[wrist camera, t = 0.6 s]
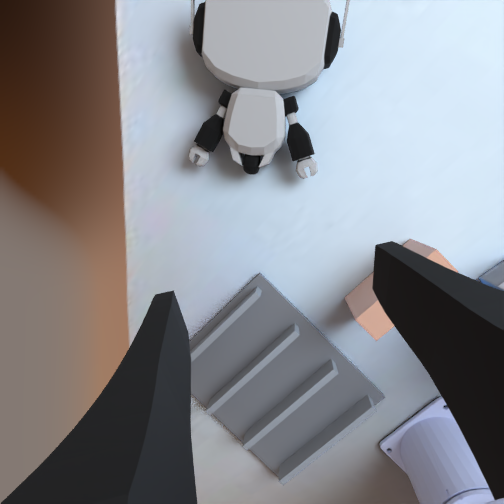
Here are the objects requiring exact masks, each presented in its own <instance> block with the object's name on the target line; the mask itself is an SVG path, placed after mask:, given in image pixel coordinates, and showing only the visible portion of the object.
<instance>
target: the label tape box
mask: <svg viewBox="0 0 504 504" xmlns="http://www.w3.org/2000/svg"><path fill="white" fill-rule="evenodd" d="M479 279H480V281H481V282H482V283H483V284H485V285H488V286H491V287H493V288H496V289H499V290H502V291H504V260H503V261H502V262H500V263H499V264H497V265H496V266H494V267H493V268H492V269H490V270H489V271H487V272H486V273H484V274H483V275H482V276H480V277H479Z"/></svg>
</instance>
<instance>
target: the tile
mask: <svg viewBox="0 0 504 504" xmlns="http://www.w3.org/2000/svg"><path fill="white" fill-rule="evenodd" d="M403 247H406V248H408V249H410V250H412V251H414V252H416V253H418V254H420V255H422V256H424V257H426V258H428V259H430V260H432V261H434V262H436V263H438V264H440V265H442V266H444V267H446V268H448V269H451V270H453V271H455V272H457V273H458V271H457V270H456V269H455V268H454V267H453V266H452V265H451V264H450V263H449V262H448V261H447V260H446V259H445V258H444V256H443V255H442V254H441V253H440V252H439V251H438V250H437V249H435V248H432V247H430V246H427V245H425V244H422V243H420V242H417V241H415V240H412V239H409V240H408V241H407V242H406V243H405V244H404V245H403ZM373 273H374V272H372V273H371V274H370V275H369V276H368V277H367V278H366V279H365V280H364V281H362V282H361V283H360V284H359V285H358V286H357V287H356V288H355V289H353V290H352V291H351V292H350V293H349V294H348V295H347V296H346V297H345V300H346V302H347V304H348V306H349V308H350V310H351V312H352V314H353V316H354V318H355V320H356V321H357V322H358V323H359V324H360V325H361V326H362V327H363V328H364V329H365V330H366V331H367V332H368V333H369V334H370V335H371V336H372V337H373V338H374V339H375V340H376V341H377V340H378V339H379V338H381V337H382V336H383V335H384V334H385V333H387V332H388V331H389V330H390V329H391V328H393V327H394V324H393V323H392V322H391V320H390V319H389V318H388V316H387V315H386V313H385V312H384V310H383V308H382V306H381V305H380V303H379V301H378V299H377V297H376V295H375V293H374V291H373V289H372V286H373Z"/></svg>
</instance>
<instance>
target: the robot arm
mask: <svg viewBox="0 0 504 504" xmlns="http://www.w3.org/2000/svg"><path fill="white" fill-rule="evenodd" d="M372 289H373V291H374V293H375V295H376V297H377V299H378V301H379V303H380V305H381V306H382V308H383V310H384V312H385V313H386V315H387V316H388V318H389V319H390V320H391V322H392V323H393V324H394V326H395V327H396V329H397V330H398V331H399V333H400V334H401V336H402V337H403V338H404V340H405V341H406V342H407V344H408V345H409V346H410V348H411V349H412V350H413V352H414V353H415V355H416V356H417V357H418V359H419V360H420V361H421V363H422V364H423V366H424V367H425V369H426V370H427V372H428V373H429V375H430V377H431V378H432V380H433V382H434V383H435V385H436V387H437V389H438V390H439V392H440V394H441V395H442V397H439V398H437V399H436V400H434V401H433V402H432V403H430V404H429V405H428V406H426V407H425V408H424V409H423V410H421V411H420V412H419V413H417V414H416V415H415V416H413V417H412V418H411V419H410V420H408V421H407V422H406V423H404V424H403V425H402V426H400V427H399V428H398V429H396V430H395V431H394V432H393V433H391V434H390V435H389V436H387V437H386V438H385V439H383V440H382V441H381V442H380V447H381V449H382V450H383V451H384V452H385V453H386V454H387V455H388V456H389V457H390V458H391V459H392V460H393V461H394V462H395V463H396V464H397V465H398V466H399V467H400V468H401V469H402V470H403V471H404V472H405V473H406V474H407V475H408V476H409V479H410V481H411V484H412V486H413V488H414V491H415V493H416V496H417V498H418V501H419V503H420V504H504V291H502V290H499V289H496V288H493V287H491V286H488V285H485V284H483V283H480V282H478V281H476V280H473V279H471V278H469V277H466V276H464V275H462V274H459V273H457V272H455V271H453V270H451V269H448V268H446V267H444V266H442V265H440V264H438V263H436V262H434V261H432V260H430V259H428V258H426V257H424V256H422V255H420V254H418V253H416V252H414V251H412V250H410V249H408V248H406V247H403V246H401V245H399V244H397V243H395V242H392V241H391V242H387V243H382V244H378V245H376V247H375V260H374V273H373V286H372ZM444 405H447V407H443V406H444ZM190 414H191V354H190V344H189V336H188V330H187V328H186V325H185V322H184V319H183V316H182V313H181V310H180V308H179V305H178V302H177V299H176V296H175V293H174V291H170V292H165V293H161V294H156V295H155V296H154V298H153V300H152V302H151V305H150V307H149V309H148V312H147V314H146V316H145V318H144V320H143V323H142V325H141V327H140V329H139V331H138V333H137V335H136V337H135V339H134V340H133V342H132V344H131V346H130V348H129V350H128V351H127V353H126V355H125V357H124V358H123V360H122V362H121V364H120V365H119V367H118V369H117V370H116V372H115V373H114V375H113V377H112V378H111V380H110V381H109V383H108V384H107V385H106V387H105V388H104V390H103V391H102V393H101V394H100V396H99V397H98V398H97V400H96V401H95V402H94V404H93V405H92V406H91V407H90V409H89V410H88V411H87V413H86V414H85V415H84V416H83V418H82V419H81V420H80V421H79V423H78V424H77V425H76V426H75V428H74V429H73V430H72V431H71V432H70V433H69V435H67V437H66V438H65V439H64V440H63V441H62V442H61V443H60V445H59V446H58V447H57V448H56V449H55V450H54V451H53V452H52V453H51V454H50V455H49V457H47V459H46V460H45V461H44V462H43V463H42V464H41V465H40V466H39V467H38V468H37V469H36V470H35V471H34V472H33V473H32V474H31V475H29V476H28V477H27V479H26V480H25V481H23V482H22V483H21V484H20V485H19V486H18V487H17V488H16V489H15V490H14V491H13V492H12V493H11V494H10V495H9V496H8V497H7V498H6V499H5V500H4V501H3V502H1V504H197V497H196V486H195V476H194V466H193V454H192V443H191V424H190ZM388 448H391V449H390V450H387V449H388Z"/></svg>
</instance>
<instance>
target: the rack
mask: <svg viewBox="0 0 504 504" xmlns="http://www.w3.org/2000/svg"><path fill="white" fill-rule="evenodd" d="M189 344H190V354H191V394H192V395H193V396H194V397H195V398H196V399H198V400H199V401H200V402H201V403H202V404H203V405H204V406H205V407H206V408H207V409H206V412H207V413H208V414H209V415H211V414H213V415H214V416H215V417H216V418H217V419H218V420H219V421H221V422H222V423H223V424H224V425H225V426H226V427H227V428H228V429H229V430H230V431H231V432H232V433H233V434H234V435H235V436H236V437H237V438H238V439H239V440H240V441H241V442H242V443H243V446H242V447H243V448H244V449H246V450H248V449H250V450H251V451H252V452H253V453H254V454H255V455H256V456H257V457H258V458H259V459H260V460H261V461H262V462H263V463H264V464H265V465H266V466H268V467H269V468H270V469H271V470H272V471H273V472H274V473H275V474H276V475H277V476H278V477H279V482H280V483H281V484H282V485H284V484H286V483H287V482H288V481H289V480H291V479H292V478H293V477H294V476H296V475H297V474H298V473H299V472H301V471H302V470H303V469H305V468H306V467H307V466H308V465H310V464H311V463H312V462H313V461H315V460H316V459H317V458H318V457H320V456H321V455H322V454H323V453H325V452H326V451H327V450H329V449H330V448H331V447H332V446H334V445H335V444H336V443H337V442H339V441H340V440H341V439H342V438H344V437H345V436H346V435H347V434H349V433H350V432H351V431H353V430H354V429H355V428H356V427H358V426H359V425H360V424H361V423H363V422H364V421H365V420H366V419H368V418H369V417H370V416H371V415H373V414H374V413H375V412H377V411H376V408H375V405H376V404H377V403H379V402H380V401H381V400H382V399H384V398H385V397H384V395H383V393H382V392H381V391H380V390H379V389H378V388H377V387H376V386H375V385H374V384H373V383H372V382H371V381H370V380H368V379H367V378H366V377H365V376H364V375H363V374H362V373H361V372H360V371H359V370H358V369H357V368H356V367H355V366H354V365H353V364H352V363H351V362H350V361H349V360H348V359H347V358H346V357H345V356H344V355H343V354H342V353H341V352H340V351H339V350H338V349H337V348H336V347H335V346H334V345H333V344H332V343H331V342H330V341H329V340H328V339H327V338H326V337H325V336H324V335H323V334H322V333H321V332H320V331H319V330H318V329H317V328H316V327H315V326H314V325H313V324H312V323H311V322H310V321H309V320H308V319H307V318H306V317H305V316H304V315H303V314H302V313H301V312H300V311H299V310H298V309H297V308H296V307H295V306H293V305H292V304H291V303H290V302H289V301H288V300H287V299H286V298H285V297H284V296H283V295H282V294H281V293H280V292H279V291H278V290H277V289H276V288H275V287H274V286H273V285H272V284H271V283H270V282H269V281H268V280H267V279H266V278H265V277H264V276H263V275H262V274H261V273H259V274H258V275H257V276H256V277H255V278H254V279H253V280H252V281H251V282H250V283H249V284H248V285H247V286H246V287H245V288H244V289H243V290H242V291H241V292H240V293H239V294H238V295H237V296H236V297H235V298H234V299H233V300H232V301H231V302H229V303H228V304H227V305H226V306H225V307H224V308H223V309H222V310H221V311H220V312H219V313H218V314H217V315H216V316H215V317H214V318H213V319H212V320H211V321H210V322H209V323H208V324H207V325H206V326H205V327H204V328H203V329H202V330H201V331H200V332H199V333H198V334H197V335H196V336H195V337H194V338H192V339H191V340H190V341H189Z"/></svg>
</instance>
